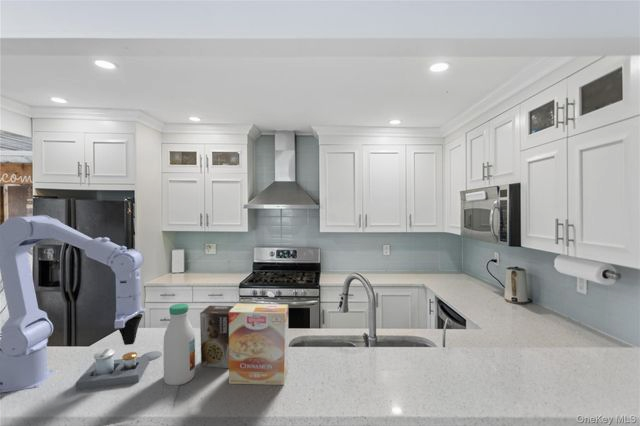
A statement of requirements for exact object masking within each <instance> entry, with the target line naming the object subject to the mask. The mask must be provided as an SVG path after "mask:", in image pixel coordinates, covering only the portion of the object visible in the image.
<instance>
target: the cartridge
mask: <svg viewBox="0 0 640 426" xmlns="http://www.w3.org/2000/svg"><path fill="white" fill-rule="evenodd" d="M115 354H116V351H115V350H114V349H109V348H105V349H104V350H101V351H98V352H96V353H95V354H94V355H93V359H94V360H95V361H94V362H96V376H97V375H105V374H112V373H113V372H114V360H115V358H114V357H115Z"/></svg>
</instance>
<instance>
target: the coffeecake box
mask: <svg viewBox="0 0 640 426" xmlns="http://www.w3.org/2000/svg"><path fill="white" fill-rule="evenodd" d="M233 306H234V307H233V308H232V309H231V310H230V311H229V368H228V384H229V385H267V386H268V385H269V386H275V385H276V386H285V383H286V379H287V375H288V372H289V371H288V370H289V304H285V303H284V304H277V303H236V304H234V305H233Z"/></svg>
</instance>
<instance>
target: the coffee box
mask: <svg viewBox="0 0 640 426" xmlns="http://www.w3.org/2000/svg"><path fill="white" fill-rule="evenodd" d="M234 306H235V305H209V306H208V305H207V307H205V309H203V310H202V311H201V312H200V313H199V322H200V324H199V326H200V367H202V368H203V367H205V368H206V367H207V368H223V369H225V368H227V369H229V311H230V310H231V309H232V308H233V307H234Z"/></svg>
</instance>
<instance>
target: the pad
mask: <svg viewBox="0 0 640 426" xmlns="http://www.w3.org/2000/svg"><path fill="white" fill-rule="evenodd" d="M144 356H149V362H151V361H155V360H158V359H159V358H160V357H162V356H163V352H161V351H159V350H154V351H148V352H145V353H143V354H142V355H141V356H140V357H144Z"/></svg>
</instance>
